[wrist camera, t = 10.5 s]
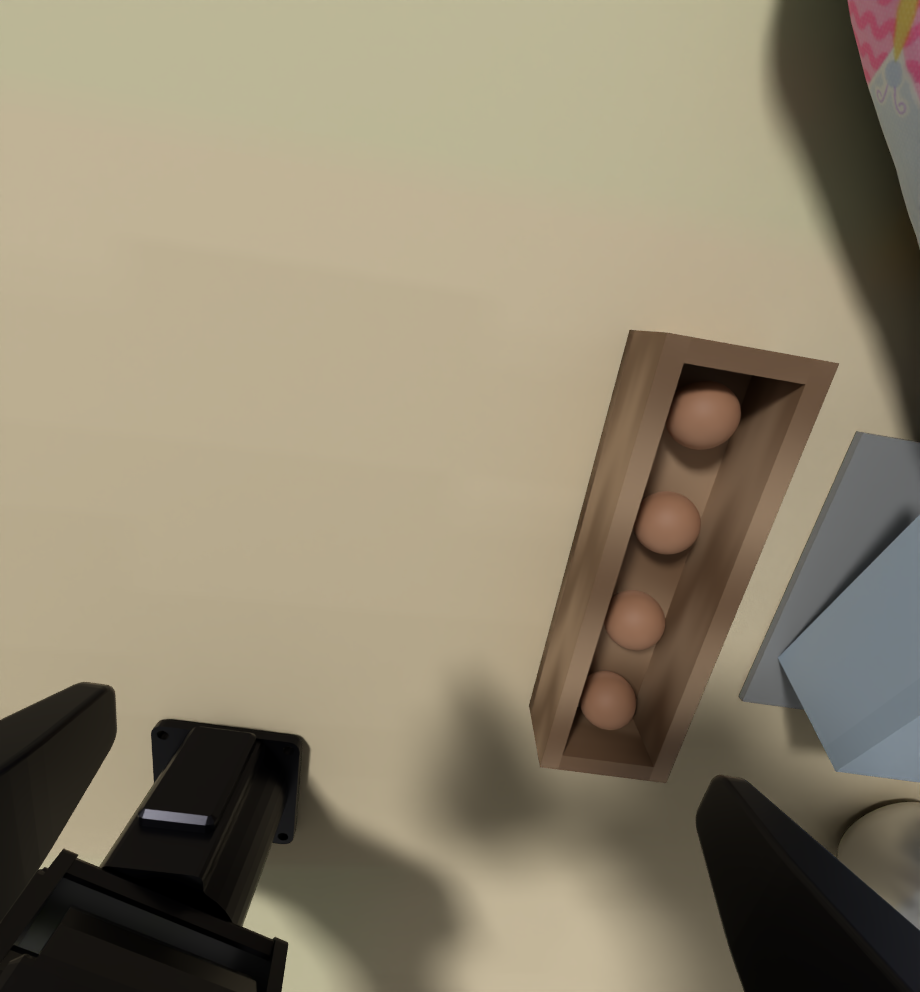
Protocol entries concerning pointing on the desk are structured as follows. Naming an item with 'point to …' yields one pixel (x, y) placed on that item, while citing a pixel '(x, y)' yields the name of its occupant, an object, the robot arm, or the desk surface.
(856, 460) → the mat
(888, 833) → the plastic bottle
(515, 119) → the desk surface
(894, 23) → the pencil case
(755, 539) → the tray
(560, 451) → the desk surface
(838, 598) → the cover
